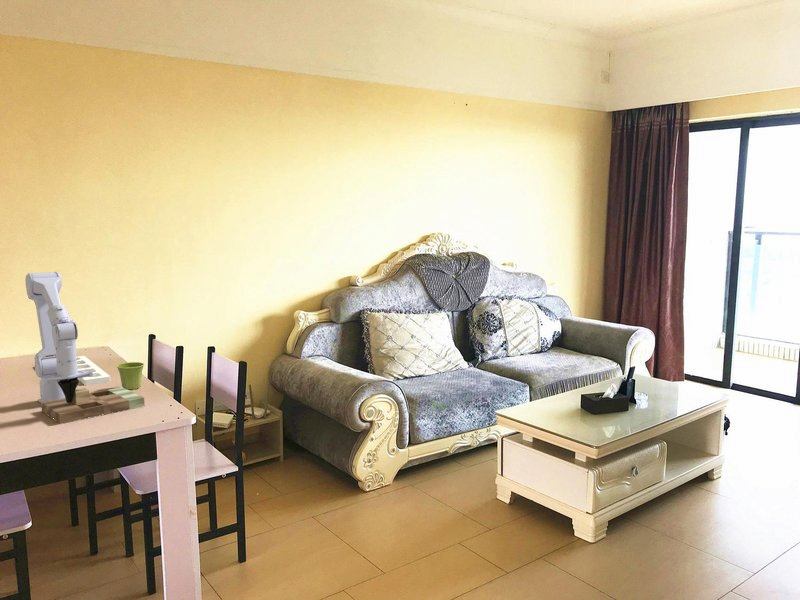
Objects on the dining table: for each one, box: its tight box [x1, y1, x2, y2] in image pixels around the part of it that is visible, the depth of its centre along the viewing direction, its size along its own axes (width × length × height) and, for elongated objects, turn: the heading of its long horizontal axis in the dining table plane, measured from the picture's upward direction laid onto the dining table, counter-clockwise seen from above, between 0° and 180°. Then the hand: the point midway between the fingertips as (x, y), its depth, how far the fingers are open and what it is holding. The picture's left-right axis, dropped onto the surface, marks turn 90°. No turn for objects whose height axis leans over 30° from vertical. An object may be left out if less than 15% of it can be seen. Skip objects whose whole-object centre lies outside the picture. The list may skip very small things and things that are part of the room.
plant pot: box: [116, 361, 145, 391], centre depth 239 cm, size 9×9×9 cm
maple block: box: [73, 387, 90, 405], centre depth 210 cm, size 4×4×4 cm
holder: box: [76, 355, 111, 386], centre depth 260 cm, size 45×18×3 cm, turn 37°
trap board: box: [40, 386, 146, 424], centre depth 214 cm, size 18×26×3 cm
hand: (69, 402), depth 208 cm, fingers closed
